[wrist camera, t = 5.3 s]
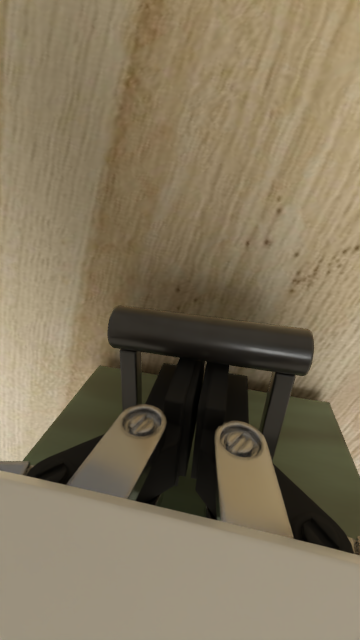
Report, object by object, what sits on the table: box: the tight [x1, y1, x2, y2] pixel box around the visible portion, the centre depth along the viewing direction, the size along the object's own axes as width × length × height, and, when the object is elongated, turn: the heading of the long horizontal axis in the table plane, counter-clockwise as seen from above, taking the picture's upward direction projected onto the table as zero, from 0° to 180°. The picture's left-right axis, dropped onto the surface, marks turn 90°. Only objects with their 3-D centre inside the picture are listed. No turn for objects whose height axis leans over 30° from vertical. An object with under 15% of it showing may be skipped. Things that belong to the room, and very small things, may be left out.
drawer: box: [23, 305, 360, 540], centre depth 14 cm, size 20×12×7 cm, turn 177°
